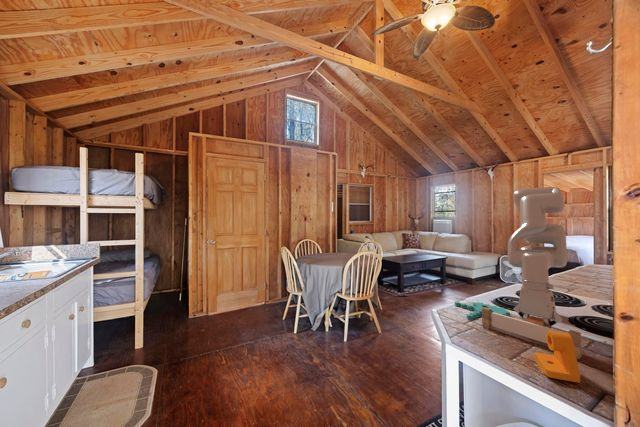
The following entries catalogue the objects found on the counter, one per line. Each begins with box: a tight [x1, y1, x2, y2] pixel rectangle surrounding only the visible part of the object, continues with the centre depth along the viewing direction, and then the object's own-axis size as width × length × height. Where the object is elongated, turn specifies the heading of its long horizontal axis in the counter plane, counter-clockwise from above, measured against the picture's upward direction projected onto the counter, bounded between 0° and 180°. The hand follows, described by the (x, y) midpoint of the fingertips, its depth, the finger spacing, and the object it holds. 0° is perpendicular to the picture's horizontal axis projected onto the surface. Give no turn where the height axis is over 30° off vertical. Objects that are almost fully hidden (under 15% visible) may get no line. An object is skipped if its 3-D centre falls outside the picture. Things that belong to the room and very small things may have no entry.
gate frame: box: [481, 307, 583, 360], centre depth 97 cm, size 3×30×8 cm, turn 32°
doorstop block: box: [526, 315, 545, 326], centre depth 97 cm, size 5×5×6 cm
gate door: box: [492, 312, 568, 343], centre depth 97 cm, size 2×24×6 cm, turn 31°
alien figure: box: [454, 301, 511, 321], centre depth 125 cm, size 20×2×20 cm
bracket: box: [534, 331, 581, 384], centre depth 78 cm, size 11×7×12 cm, turn 156°
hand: (537, 333), depth 97 cm, fingers closed on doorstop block, 5 cm apart
